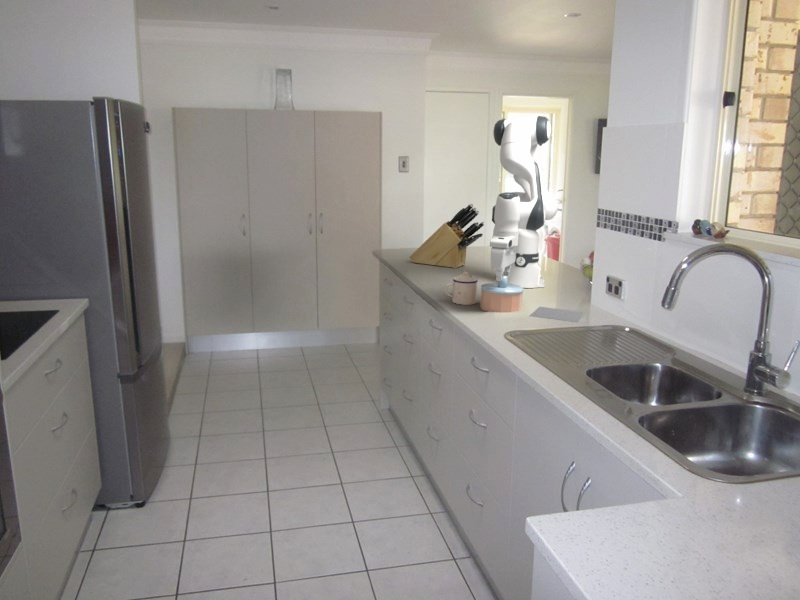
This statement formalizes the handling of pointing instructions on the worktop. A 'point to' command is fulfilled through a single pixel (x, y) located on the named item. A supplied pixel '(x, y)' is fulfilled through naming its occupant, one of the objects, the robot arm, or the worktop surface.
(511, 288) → the lid
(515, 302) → the bowl
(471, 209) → the knife block
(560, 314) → the mat
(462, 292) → the teacup with lid
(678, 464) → the worktop surface
